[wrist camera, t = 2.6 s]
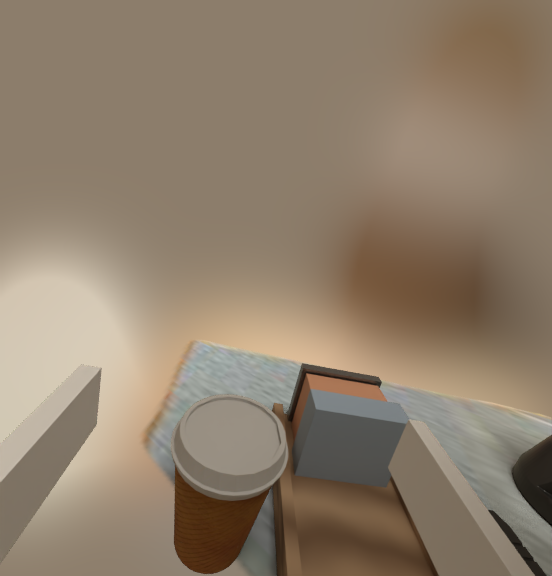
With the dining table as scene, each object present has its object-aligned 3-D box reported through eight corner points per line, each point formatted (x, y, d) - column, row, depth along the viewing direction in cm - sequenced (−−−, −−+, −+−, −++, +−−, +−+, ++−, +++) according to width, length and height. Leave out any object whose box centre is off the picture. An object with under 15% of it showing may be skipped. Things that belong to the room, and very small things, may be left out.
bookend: (362, 432, 44) (381, 382, 42) (287, 421, 43) (303, 368, 41) (358, 424, 46) (377, 375, 43) (286, 413, 45) (301, 361, 42)
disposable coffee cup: (230, 627, 23) (265, 507, 19) (128, 557, 25) (144, 440, 22) (275, 515, 32) (305, 419, 28) (196, 471, 34) (215, 378, 31)
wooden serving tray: (459, 630, 26) (473, 607, 25) (279, 616, 24) (288, 590, 23) (370, 435, 46) (376, 419, 46) (269, 420, 45) (274, 403, 44)
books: (386, 487, 36) (413, 425, 34) (294, 475, 35) (316, 409, 32) (363, 434, 44) (383, 380, 42) (287, 422, 43) (304, 366, 40)
